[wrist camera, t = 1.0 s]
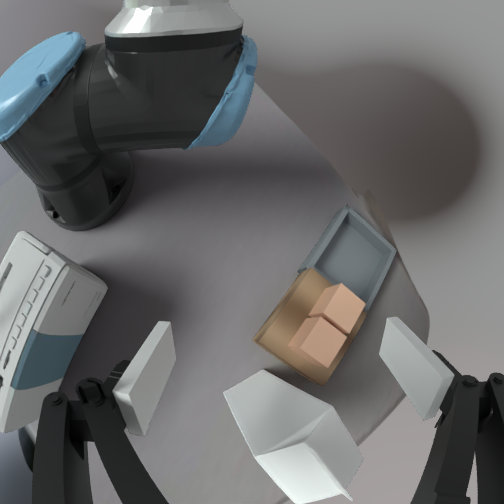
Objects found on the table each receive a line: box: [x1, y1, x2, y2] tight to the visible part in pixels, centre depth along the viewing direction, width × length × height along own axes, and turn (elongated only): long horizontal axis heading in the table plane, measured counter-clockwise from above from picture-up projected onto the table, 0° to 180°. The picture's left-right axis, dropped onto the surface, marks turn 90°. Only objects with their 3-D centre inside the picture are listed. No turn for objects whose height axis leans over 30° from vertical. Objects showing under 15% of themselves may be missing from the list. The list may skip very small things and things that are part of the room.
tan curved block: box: [252, 267, 367, 387], centre depth 33 cm, size 11×10×4 cm
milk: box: [223, 369, 364, 504], centre depth 21 cm, size 6×6×22 cm
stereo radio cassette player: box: [0, 231, 108, 433], centre depth 18 cm, size 21×8×20 cm, turn 152°
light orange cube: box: [288, 317, 347, 368], centre depth 29 cm, size 4×4×4 cm
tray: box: [298, 204, 397, 313], centre depth 37 cm, size 12×11×3 cm
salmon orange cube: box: [309, 283, 366, 333], centre depth 30 cm, size 4×4×4 cm
